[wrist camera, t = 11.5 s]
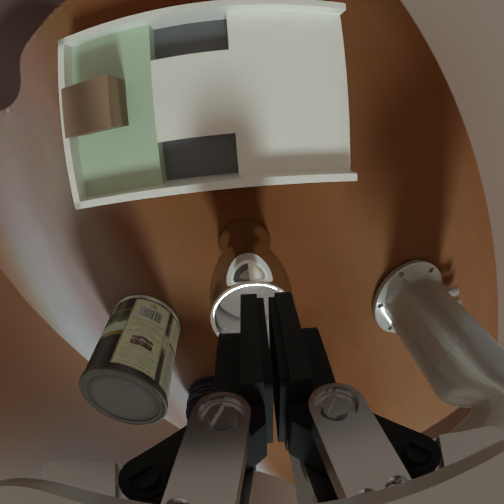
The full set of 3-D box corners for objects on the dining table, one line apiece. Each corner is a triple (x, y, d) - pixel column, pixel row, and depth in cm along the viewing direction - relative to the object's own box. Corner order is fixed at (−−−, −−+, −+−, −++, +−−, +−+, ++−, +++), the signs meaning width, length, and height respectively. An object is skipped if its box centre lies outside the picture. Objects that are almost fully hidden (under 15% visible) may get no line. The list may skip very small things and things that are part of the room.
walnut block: (125, 80, 25) (107, 74, 20) (128, 125, 27) (111, 126, 22) (83, 91, 25) (61, 89, 20) (87, 135, 27) (65, 138, 22)
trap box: (331, 15, 25) (345, 3, 21) (342, 173, 33) (357, 180, 29) (76, 47, 24) (58, 40, 20) (91, 199, 32) (75, 209, 28)
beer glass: (251, 203, 34) (265, 261, 20) (284, 248, 37) (315, 323, 23) (203, 238, 35) (188, 312, 22) (238, 278, 38) (244, 364, 24)
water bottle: (307, 441, 57) (328, 536, 34) (278, 437, 55) (294, 540, 32) (332, 420, 53) (362, 523, 31) (302, 415, 52) (327, 529, 29)
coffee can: (120, 347, 42) (94, 418, 29) (106, 291, 38) (66, 362, 25) (183, 353, 43) (173, 430, 30) (178, 295, 38) (159, 374, 26)
